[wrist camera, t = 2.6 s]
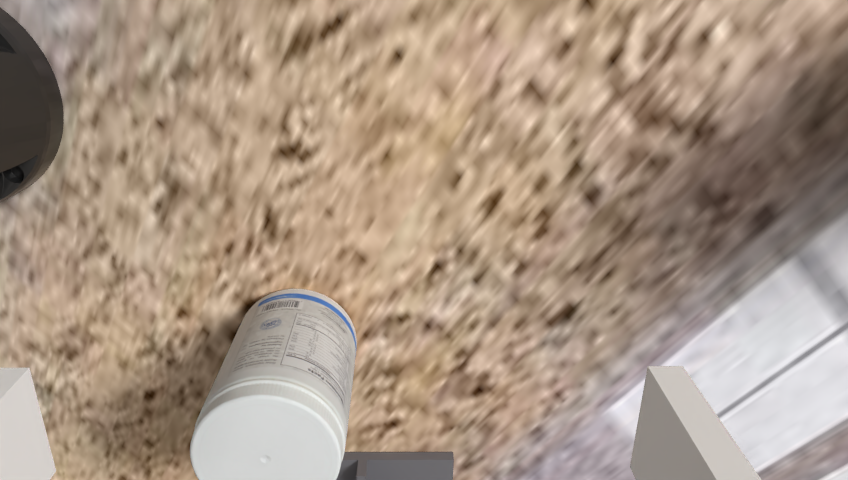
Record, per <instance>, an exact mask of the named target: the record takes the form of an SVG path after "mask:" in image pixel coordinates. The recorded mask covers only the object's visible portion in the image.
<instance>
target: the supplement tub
mask: <svg viewBox="0 0 848 480" xmlns="http://www.w3.org/2000/svg"><path fill="white" fill-rule="evenodd" d="M356 347H357V339H356V333H355V329H354V326H353V323H352V321H351V319H350V318H349V316H348V314H347V313H346V312H345V311H344V309H343V308H342V307H341V306H340V305H338V304H337V303H336V302H335V301H333V300H332V299H330V298H329V297H327V296H325V295H323V294H320V293H318V292H315V291H311V290H306V289H285V290H280V291H276V292H274V293H271V294H269V295H267V296H265V297H263V298H261V299H260V300H259V301H257V302H256V303H255V304H254V305H253V306H252V307H251V308H250V309H249V310H248V312H247V313H246V315H245V316H244V318H243V320H242V322H241V324H240V326H239V328H238V331H237V333H236V335H235V337H234V340H233V342H232V344H231V346H230V348H229V350H228V353H227V355H226V357H225V359H224V361H223V363H222V366H221V368H220V370H219V372H218V374H217V377H216V379H215V381H214V383H213V385H212V388H211V390H210V392H209V394H208V396H207V398H206V400H205V403H204V405H203V407H202V409H201V412H200V414H199V416H198V419H197V421H196V425H195V430H194V433H193V436H192V440H191V444H190V458H191V463H192V467H193V469H194V472H195V474H196V476H197V478H198V479H199V480H336V479H337V477H338V474H339V471H340V467H341V463H342V460H343V457H344V452H345V445H346V436H347V429H348V419H349V410H350V401H351V392H352V383H353V375H354V365H355V357H356Z"/></svg>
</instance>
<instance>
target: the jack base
mask: <svg viewBox="0 0 848 480" xmlns="http://www.w3.org/2000/svg"><path fill="white" fill-rule="evenodd" d="M453 462H454V459H453V452H344V457H343V460H342V463H341V467H340V471H339V474H338V477H337V479H336V480H453Z"/></svg>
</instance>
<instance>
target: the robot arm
mask: <svg viewBox="0 0 848 480" xmlns="http://www.w3.org/2000/svg"><path fill="white" fill-rule="evenodd" d="M62 132H63V105H62V99H61V94H60V90H59V87H58V83H57V81H56V78H55V75H54V73H53V71H52V69H51V66H50V64H49V63H48V61H47V59H46V57H45V56H44V54H43V52H42V51H41V49H40V48H39V46H38V45H37V44H36V42H35V41H34V40H33V38H32V37H31V36H30V35H29V34H28V32H27V31H26V30H25V29H24V28H23V27H22V26H21V25H20V24H19V23H18V22H17V21H16V20H15V19H14V18H12V17H11V16H10V15H9V14H8V13H7V12H5V11H4V10H3V9H1V8H0V202H1V201H3V200H6V199H8V198H9V197H11V196H13V195H15V194H17V193H18V192H20V191H22V190H23V189H25V188H27V187H28V186H30V185H31V184H33V183H34V182H35V181H36V180H38V179H39V178H40V177H41V176H42V175H43V174H44V172H45V171H46V170H47V169H48V167H49V166H50V165H51V163H52V161H53V160H54V158H55V156H56V153H57V151H58V148H59V145H60V142H61V138H62ZM630 468H631V470H632V472H633V474H634V477H635V479H636V480H761V479H760V477H759V476H758V474H757V473H756V471H755V470H754V468H753V467H752V466H751V464H750V463H749V461H748V460H747V458H746V457H745V455H744V454H743V453H742V451H741V450H740V448H739V447H738V445H737V444H736V442H735V441H734V440H733V438H732V437H731V435H730V434H729V432H728V431H727V429H726V428H725V427H724V425H723V424H722V422H721V421H720V419H719V418H718V416H717V415H716V414H715V412H714V411H713V409H712V408H711V406H710V405H709V404H708V402H707V401H706V399H705V398H704V396H703V395H702V393H701V392H700V391H699V389H698V388H697V386H696V385H695V383H694V382H693V380H692V379H691V378H690V376H689V375H688V373H687V372H686V370H685V369H684V367H683V366H648V368H647V374H646V379H645V385H644V391H643V396H642V402H641V408H640V413H639V419H638V424H637V430H636V436H635V441H634V447H633V453H632V458H631V464H630ZM55 472H56V469H55V465H54V461H53V457H52V453H51V449H50V445H49V442H48V438H47V434H46V430H45V426H44V422H43V419H42V415H41V411H40V407H39V403H38V399H37V395H36V392H35V388H34V384H33V380H32V376H31V372H30V369H29V368H0V480H50V479H51V477H52V476H53V475H54V473H55Z"/></svg>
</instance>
